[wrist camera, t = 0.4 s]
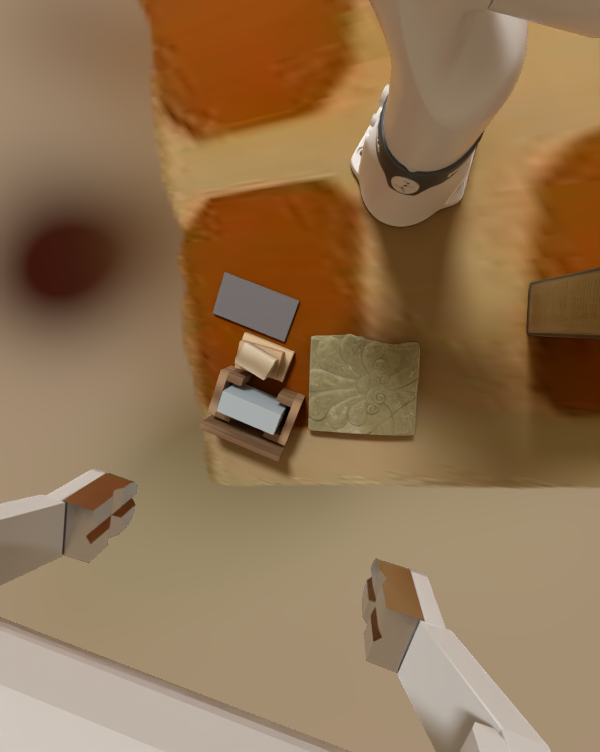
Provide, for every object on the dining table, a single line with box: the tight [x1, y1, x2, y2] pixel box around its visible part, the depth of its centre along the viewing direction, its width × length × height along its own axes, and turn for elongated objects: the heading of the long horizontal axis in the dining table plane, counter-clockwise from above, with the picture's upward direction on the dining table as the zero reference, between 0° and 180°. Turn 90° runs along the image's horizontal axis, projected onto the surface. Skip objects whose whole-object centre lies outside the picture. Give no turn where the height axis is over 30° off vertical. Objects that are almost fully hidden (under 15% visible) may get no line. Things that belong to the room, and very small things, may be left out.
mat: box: [213, 272, 299, 342], centre depth 53 cm, size 8×15×1 cm, turn 69°
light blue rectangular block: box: [217, 384, 288, 435], centre depth 52 cm, size 4×11×8 cm, turn 69°
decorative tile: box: [308, 334, 420, 436], centre depth 52 cm, size 19×20×4 cm
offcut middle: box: [235, 340, 285, 379], centre depth 51 cm, size 5×8×2 cm, turn 75°
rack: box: [199, 366, 305, 462], centre depth 53 cm, size 12×16×7 cm
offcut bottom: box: [235, 333, 295, 382], centre depth 54 cm, size 6×10×2 cm, turn 69°
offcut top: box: [235, 342, 278, 380], centre depth 49 cm, size 4×6×2 cm, turn 59°
